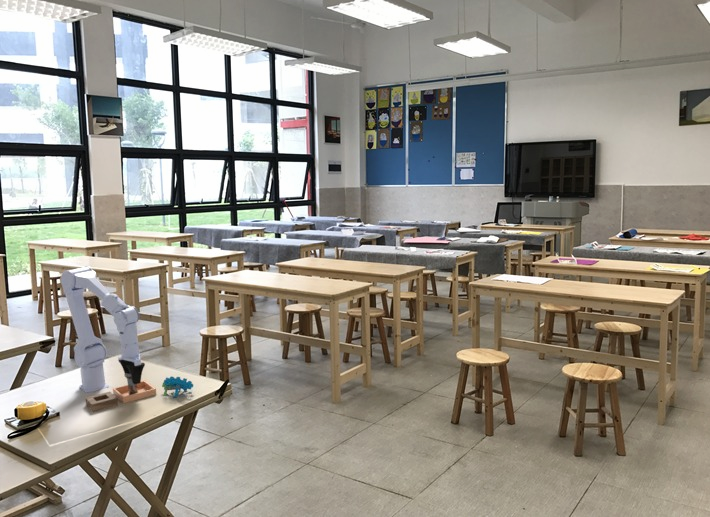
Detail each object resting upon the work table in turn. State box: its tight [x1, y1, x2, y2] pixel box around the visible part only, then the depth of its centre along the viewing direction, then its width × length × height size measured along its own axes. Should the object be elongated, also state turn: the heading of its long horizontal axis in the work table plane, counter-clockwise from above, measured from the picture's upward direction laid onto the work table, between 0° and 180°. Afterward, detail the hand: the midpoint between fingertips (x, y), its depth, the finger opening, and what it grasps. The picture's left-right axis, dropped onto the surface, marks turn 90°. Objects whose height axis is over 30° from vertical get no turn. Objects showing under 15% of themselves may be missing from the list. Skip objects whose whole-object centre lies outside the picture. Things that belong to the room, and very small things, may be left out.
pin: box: [124, 371, 138, 395], centre depth 209 cm, size 4×4×8 cm
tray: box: [112, 380, 157, 404], centre depth 210 cm, size 11×11×2 cm
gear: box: [161, 376, 194, 398], centre depth 208 cm, size 11×6×10 cm
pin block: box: [84, 391, 119, 413], centre depth 202 cm, size 8×8×3 cm
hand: (133, 380), depth 209 cm, fingers open, 7 cm apart
